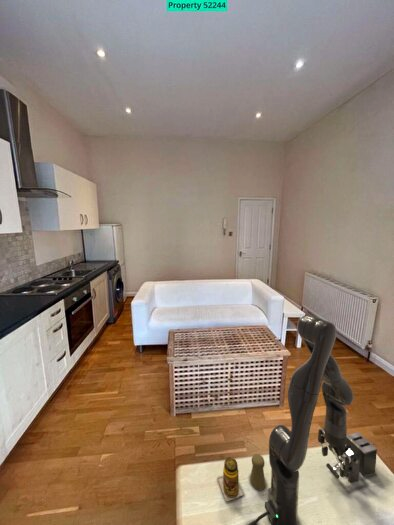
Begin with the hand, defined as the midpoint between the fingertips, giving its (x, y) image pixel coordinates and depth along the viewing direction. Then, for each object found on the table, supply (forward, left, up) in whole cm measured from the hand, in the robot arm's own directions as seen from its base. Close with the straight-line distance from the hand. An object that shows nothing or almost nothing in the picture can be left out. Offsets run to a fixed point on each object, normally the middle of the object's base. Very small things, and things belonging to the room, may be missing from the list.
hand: (333, 465), depth 89 cm
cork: (-29, +9, -9) cm, 32 cm away
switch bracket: (+9, 0, -9) cm, 12 cm away
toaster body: (+18, +2, -9) cm, 20 cm away
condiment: (-41, +10, -9) cm, 44 cm away
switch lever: (+5, 0, -1) cm, 5 cm away
